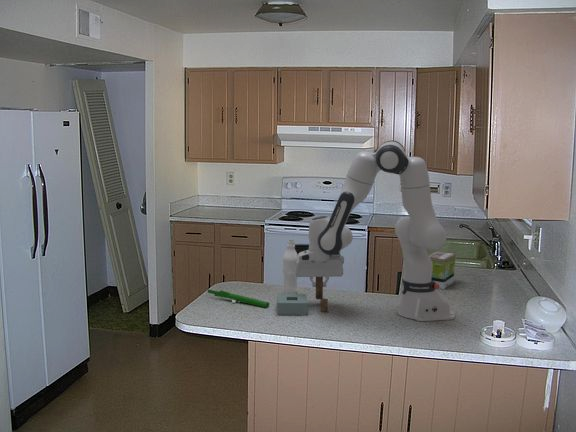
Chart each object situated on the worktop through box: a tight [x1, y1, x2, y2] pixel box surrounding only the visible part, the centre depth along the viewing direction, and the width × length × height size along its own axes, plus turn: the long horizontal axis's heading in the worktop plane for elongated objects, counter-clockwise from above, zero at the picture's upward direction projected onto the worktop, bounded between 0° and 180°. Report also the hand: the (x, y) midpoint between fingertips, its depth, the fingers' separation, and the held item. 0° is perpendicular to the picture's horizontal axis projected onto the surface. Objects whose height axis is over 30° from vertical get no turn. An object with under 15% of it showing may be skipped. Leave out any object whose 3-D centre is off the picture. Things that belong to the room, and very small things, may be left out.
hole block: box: [276, 293, 309, 316], centre depth 247 cm, size 12×12×5 cm
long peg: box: [315, 277, 324, 300], centre depth 255 cm, size 3×3×11 cm
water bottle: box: [281, 239, 299, 294], centre depth 265 cm, size 7×7×25 cm
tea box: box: [428, 250, 456, 290], centre depth 288 cm, size 15×10×15 cm, turn 148°
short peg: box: [319, 297, 329, 313], centre depth 247 cm, size 3×3×5 cm
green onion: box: [207, 288, 270, 309], centre depth 257 cm, size 5×3×30 cm
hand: (319, 286), depth 255 cm, fingers closed on long peg, 3 cm apart
